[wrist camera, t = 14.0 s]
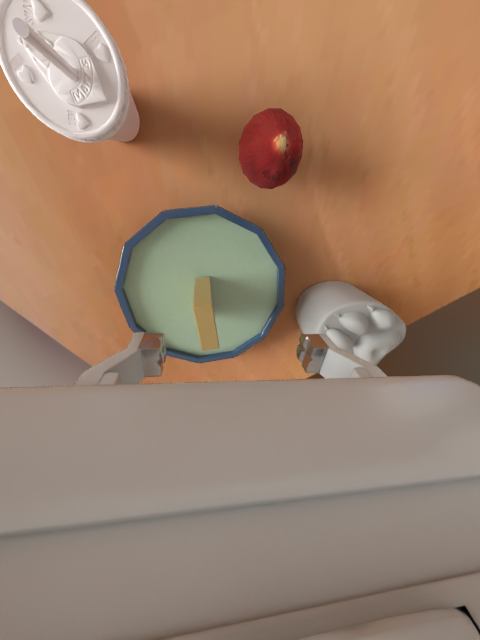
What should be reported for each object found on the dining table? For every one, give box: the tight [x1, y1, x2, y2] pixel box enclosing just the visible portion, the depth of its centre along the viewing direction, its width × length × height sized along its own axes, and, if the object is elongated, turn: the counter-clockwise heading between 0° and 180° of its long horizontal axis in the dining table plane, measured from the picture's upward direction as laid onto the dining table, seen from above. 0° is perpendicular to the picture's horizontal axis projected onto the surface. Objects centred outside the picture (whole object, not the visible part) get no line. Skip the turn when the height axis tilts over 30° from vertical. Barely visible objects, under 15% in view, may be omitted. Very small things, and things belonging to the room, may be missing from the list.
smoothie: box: [0, 0, 140, 143], centre depth 15 cm, size 6×6×14 cm
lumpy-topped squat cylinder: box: [296, 281, 406, 366], centre depth 31 cm, size 10×13×9 cm
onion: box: [239, 108, 303, 189], centre depth 20 cm, size 6×6×8 cm
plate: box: [114, 205, 285, 363], centre depth 25 cm, size 20×20×9 cm
